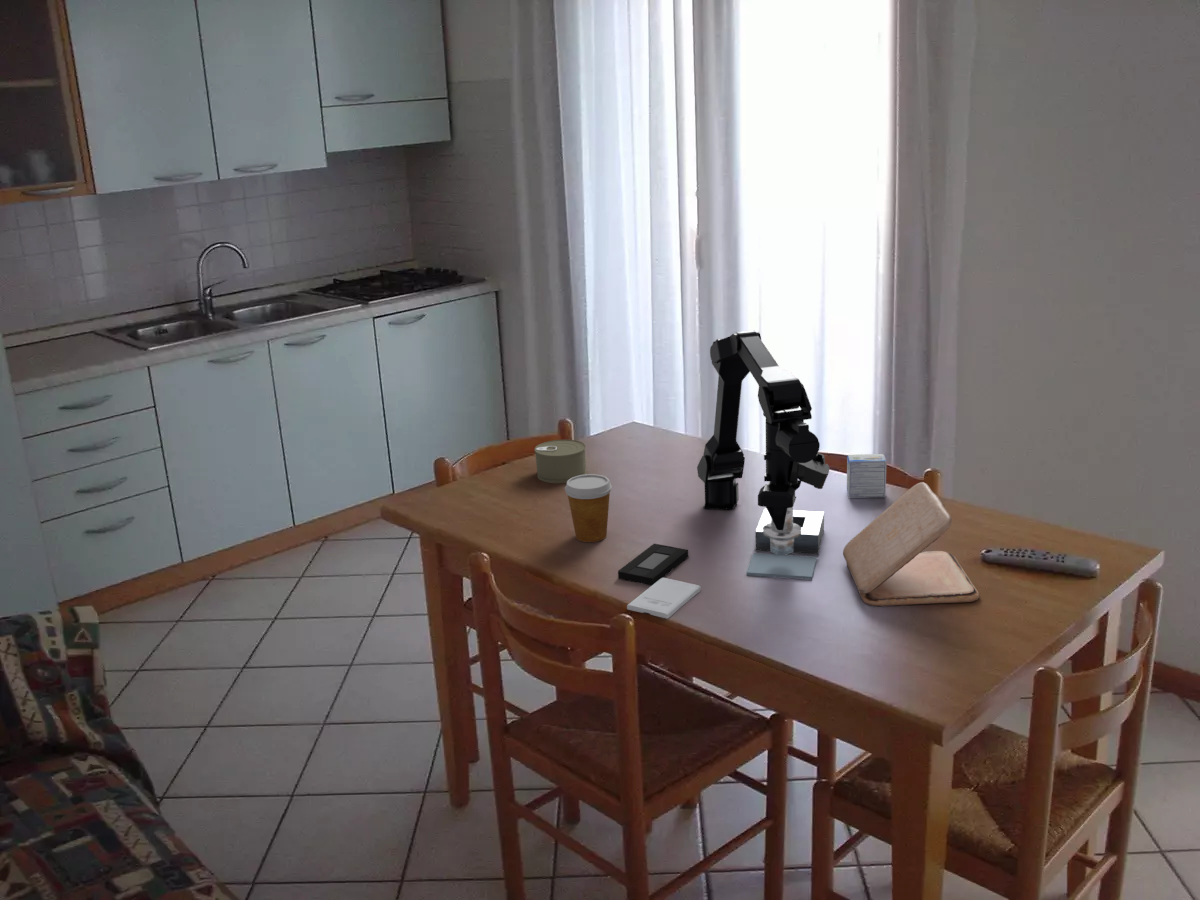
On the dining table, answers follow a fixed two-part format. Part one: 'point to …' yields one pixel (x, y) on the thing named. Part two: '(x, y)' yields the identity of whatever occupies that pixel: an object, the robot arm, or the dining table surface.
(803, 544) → the frame
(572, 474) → the can
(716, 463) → the robot arm
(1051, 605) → the dining table surface
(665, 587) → the external hard drive
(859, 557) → the case
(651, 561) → the vhs tape
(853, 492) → the medicine box
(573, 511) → the disposable coffee cup
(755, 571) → the mat
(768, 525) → the silver door knob
